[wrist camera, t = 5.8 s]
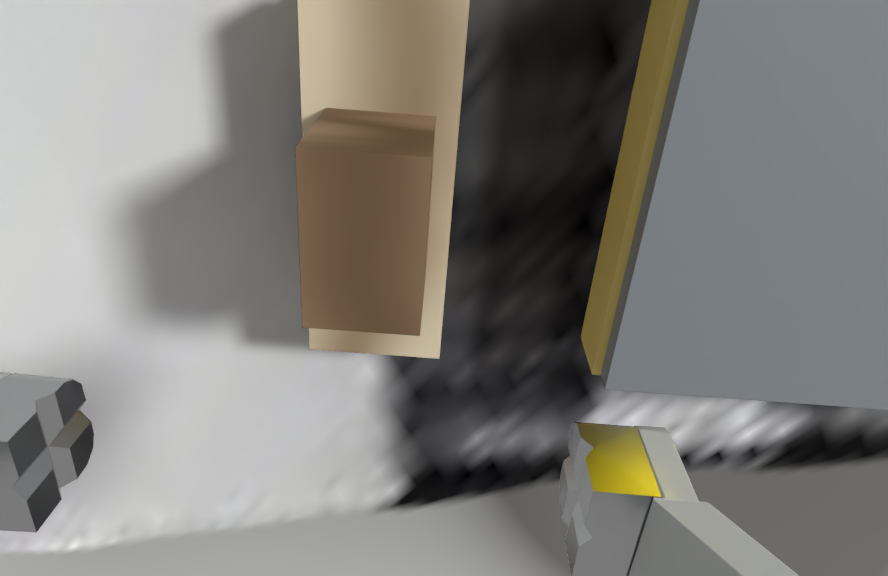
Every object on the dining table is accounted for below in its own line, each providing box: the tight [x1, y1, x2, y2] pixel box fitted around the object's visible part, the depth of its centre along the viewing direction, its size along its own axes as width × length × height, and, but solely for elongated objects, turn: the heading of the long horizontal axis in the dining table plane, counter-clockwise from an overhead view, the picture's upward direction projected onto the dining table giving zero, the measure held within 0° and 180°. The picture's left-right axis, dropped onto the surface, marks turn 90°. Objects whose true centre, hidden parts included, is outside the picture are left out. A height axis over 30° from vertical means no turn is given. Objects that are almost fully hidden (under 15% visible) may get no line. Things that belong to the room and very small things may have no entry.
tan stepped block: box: [297, 0, 470, 359], centre depth 21 cm, size 5×12×3 cm, turn 176°
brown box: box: [295, 108, 437, 336], centre depth 18 cm, size 3×5×4 cm, turn 176°
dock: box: [581, 0, 888, 410], centre depth 20 cm, size 16×14×4 cm
